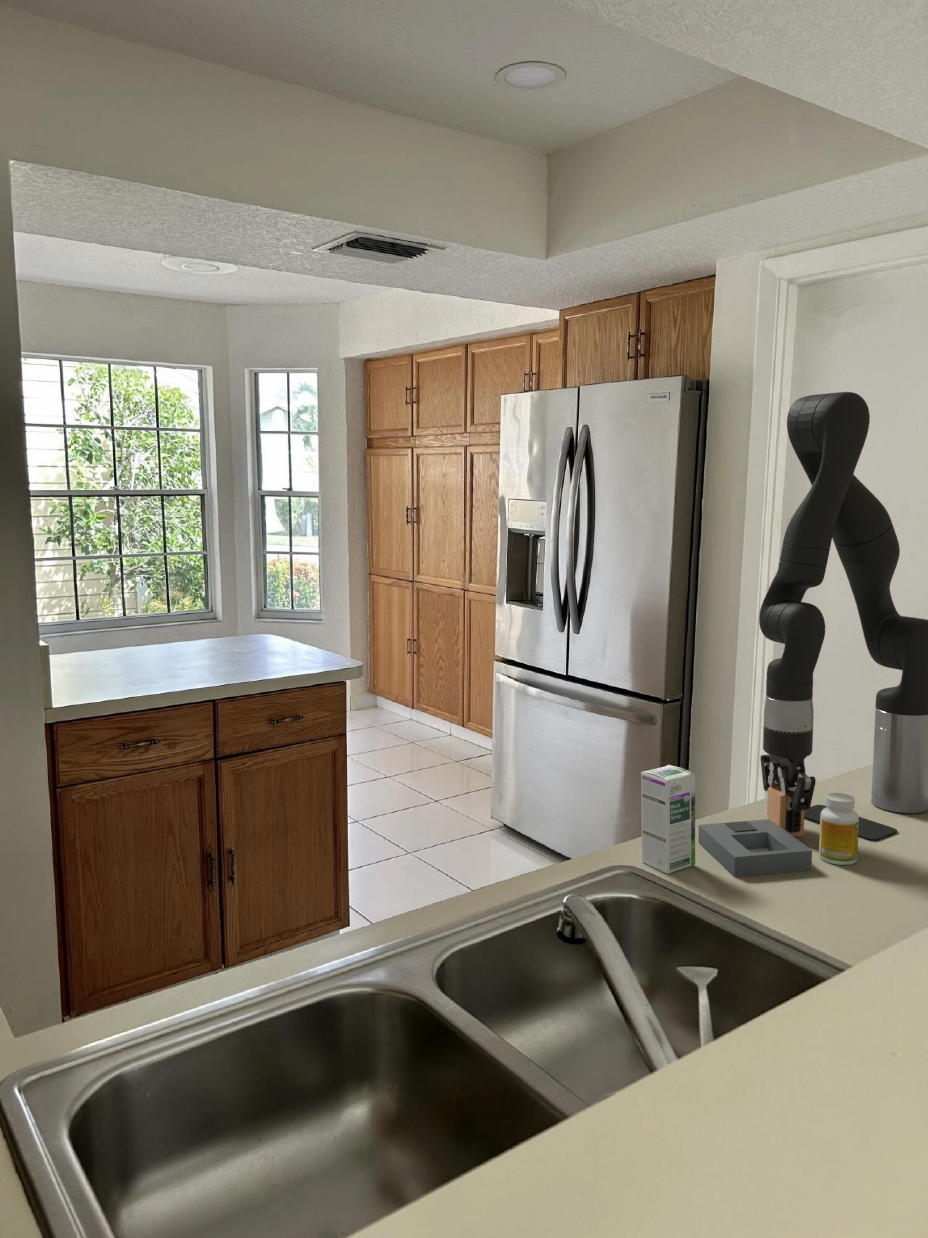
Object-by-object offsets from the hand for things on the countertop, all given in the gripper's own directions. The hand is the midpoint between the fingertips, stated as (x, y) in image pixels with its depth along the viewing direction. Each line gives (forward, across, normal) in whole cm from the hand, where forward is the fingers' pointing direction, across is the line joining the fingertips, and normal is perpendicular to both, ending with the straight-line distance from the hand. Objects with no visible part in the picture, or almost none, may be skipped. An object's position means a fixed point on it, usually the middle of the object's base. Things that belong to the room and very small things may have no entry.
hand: (785, 825), depth 149 cm
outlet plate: (+1, -8, +10) cm, 12 cm away
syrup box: (+1, -8, +23) cm, 25 cm away
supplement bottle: (+1, -12, -2) cm, 12 cm away
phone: (+2, +2, -12) cm, 12 cm away
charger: (+1, 0, 0) cm, 1 cm away
